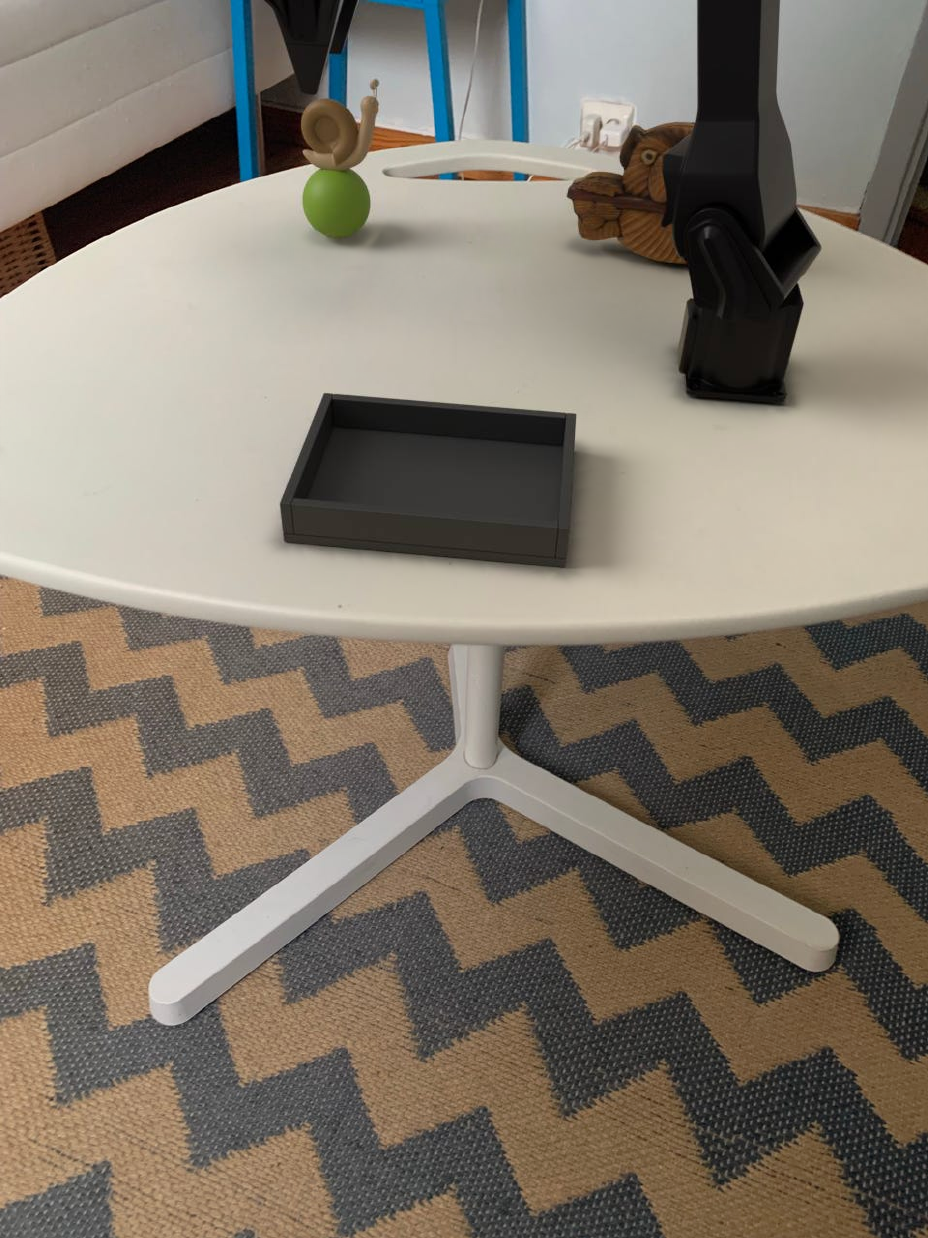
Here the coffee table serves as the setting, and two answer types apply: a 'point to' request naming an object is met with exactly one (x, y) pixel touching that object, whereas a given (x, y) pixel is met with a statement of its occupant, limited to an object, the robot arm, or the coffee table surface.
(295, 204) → the coffee table surface
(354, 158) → the snail figurine
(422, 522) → the tray
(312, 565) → the coffee table surface
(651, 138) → the wooden carving
